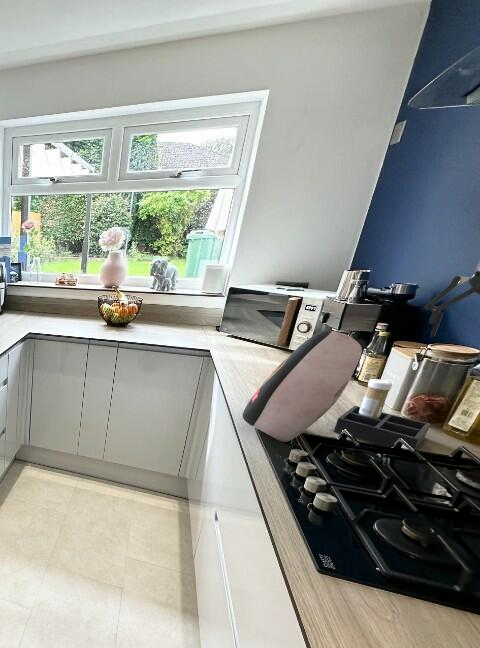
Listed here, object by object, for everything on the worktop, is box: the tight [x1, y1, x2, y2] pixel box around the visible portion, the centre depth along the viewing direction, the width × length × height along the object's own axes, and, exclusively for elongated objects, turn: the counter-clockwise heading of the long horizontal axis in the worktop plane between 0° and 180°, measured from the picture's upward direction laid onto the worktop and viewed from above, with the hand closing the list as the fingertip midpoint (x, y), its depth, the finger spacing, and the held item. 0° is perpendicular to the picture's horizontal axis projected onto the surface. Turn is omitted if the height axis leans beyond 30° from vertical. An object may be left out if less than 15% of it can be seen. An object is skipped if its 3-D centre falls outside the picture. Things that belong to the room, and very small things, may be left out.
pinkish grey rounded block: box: [242, 330, 363, 443], centre depth 106 cm, size 22×20×30 cm
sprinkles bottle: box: [359, 378, 393, 419], centre depth 112 cm, size 5×5×13 cm
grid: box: [333, 405, 431, 450], centre depth 109 cm, size 15×15×5 cm
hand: (470, 340), depth 106 cm, fingers open, 13 cm apart
